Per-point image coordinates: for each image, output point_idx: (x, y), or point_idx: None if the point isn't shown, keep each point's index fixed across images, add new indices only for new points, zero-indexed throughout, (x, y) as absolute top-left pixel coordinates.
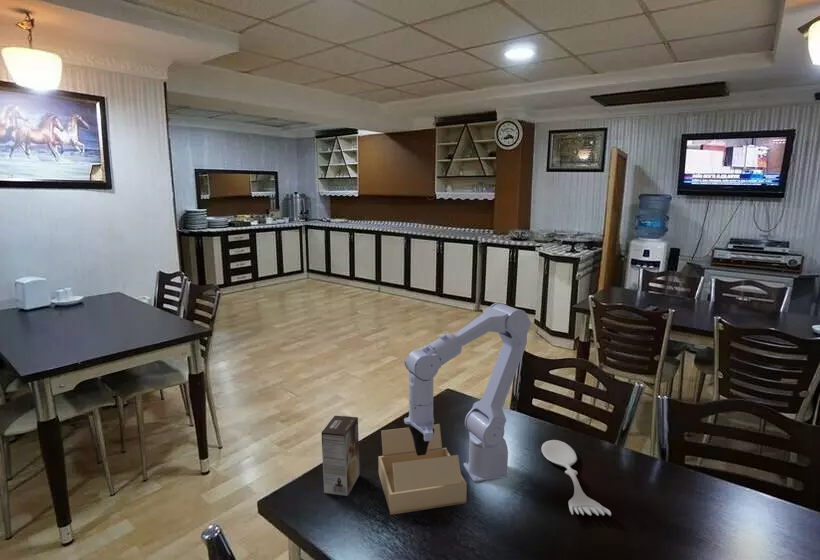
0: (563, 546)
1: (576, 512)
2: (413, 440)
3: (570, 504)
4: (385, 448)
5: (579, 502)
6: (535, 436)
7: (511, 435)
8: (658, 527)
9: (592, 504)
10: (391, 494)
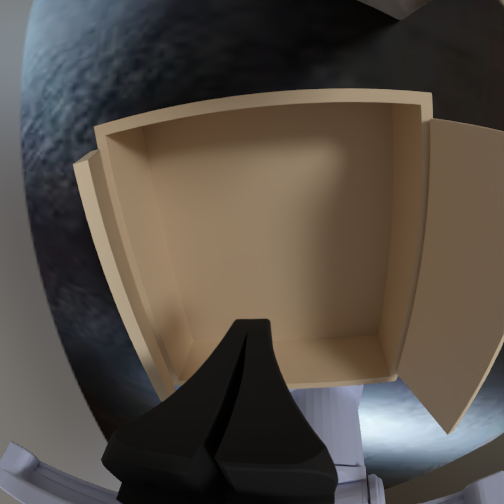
0: (99, 410)
1: None
2: (277, 367)
3: None
4: (455, 138)
5: None
6: (396, 467)
7: (421, 447)
8: None
9: None
10: (95, 132)
